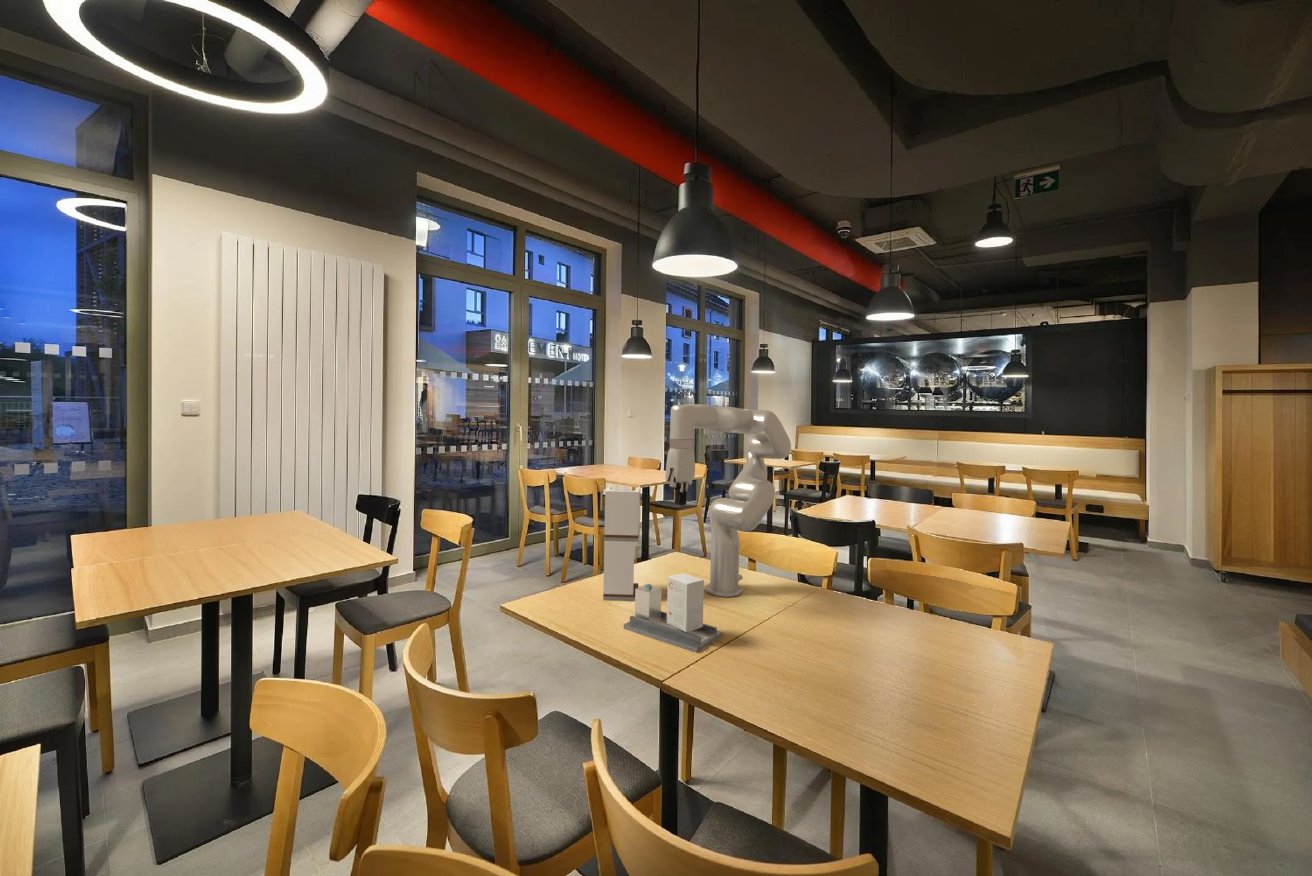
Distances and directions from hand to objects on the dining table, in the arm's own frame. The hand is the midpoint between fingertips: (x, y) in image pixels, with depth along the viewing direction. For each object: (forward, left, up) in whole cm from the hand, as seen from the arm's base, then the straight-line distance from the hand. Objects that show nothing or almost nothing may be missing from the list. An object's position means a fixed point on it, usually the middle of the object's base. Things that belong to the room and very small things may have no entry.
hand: (680, 504), depth 172 cm
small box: (+17, +14, -29) cm, 37 cm away
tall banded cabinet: (+3, -20, -32) cm, 38 cm away
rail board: (+18, +10, -32) cm, 38 cm away
